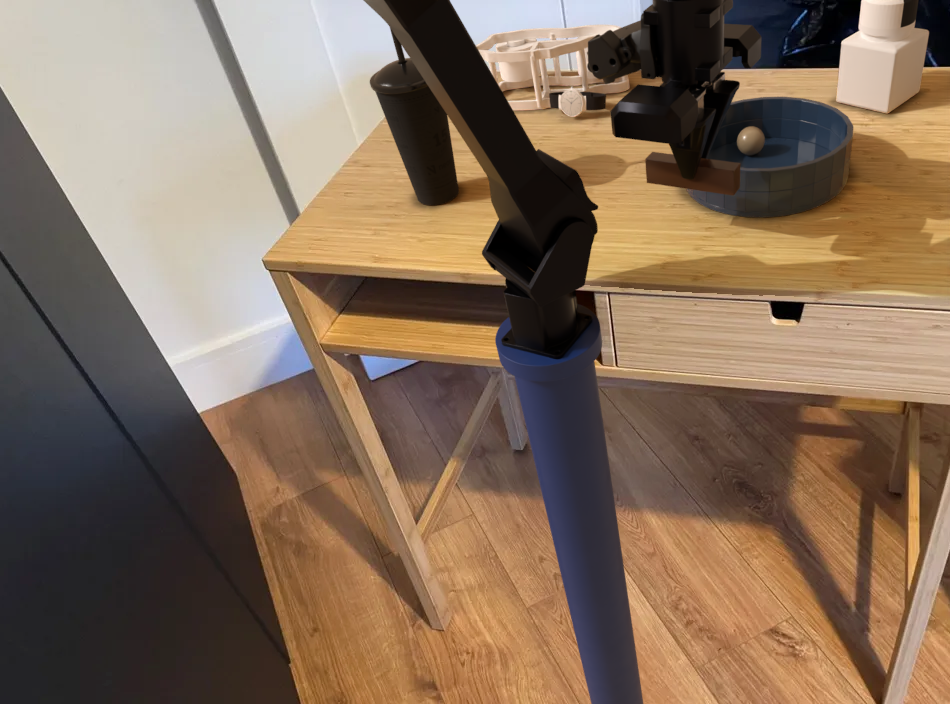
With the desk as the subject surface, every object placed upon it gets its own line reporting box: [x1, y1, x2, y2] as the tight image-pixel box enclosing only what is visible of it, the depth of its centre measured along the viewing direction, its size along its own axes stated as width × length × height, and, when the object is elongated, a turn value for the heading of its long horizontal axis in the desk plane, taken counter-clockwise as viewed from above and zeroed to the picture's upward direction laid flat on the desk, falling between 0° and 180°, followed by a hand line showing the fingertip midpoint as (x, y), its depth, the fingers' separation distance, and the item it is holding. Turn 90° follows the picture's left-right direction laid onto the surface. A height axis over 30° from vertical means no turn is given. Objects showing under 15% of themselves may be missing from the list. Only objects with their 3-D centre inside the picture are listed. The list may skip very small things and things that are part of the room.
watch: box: [549, 86, 607, 118], centre depth 104 cm, size 8×5×4 cm, turn 67°
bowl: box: [685, 96, 854, 218], centre depth 86 cm, size 17×17×5 cm
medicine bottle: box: [835, 0, 930, 115], centre depth 94 cm, size 7×7×12 cm
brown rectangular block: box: [644, 151, 740, 196], centre depth 76 cm, size 2×9×2 cm, turn 61°
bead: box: [737, 126, 765, 155], centre depth 90 cm, size 3×3×3 cm
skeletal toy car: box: [475, 24, 630, 111], centre depth 109 cm, size 20×11×7 cm, turn 78°
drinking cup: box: [369, 27, 460, 206], centre depth 87 cm, size 8×8×20 cm
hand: (692, 173), depth 76 cm, fingers closed on brown rectangular block, 2 cm apart
